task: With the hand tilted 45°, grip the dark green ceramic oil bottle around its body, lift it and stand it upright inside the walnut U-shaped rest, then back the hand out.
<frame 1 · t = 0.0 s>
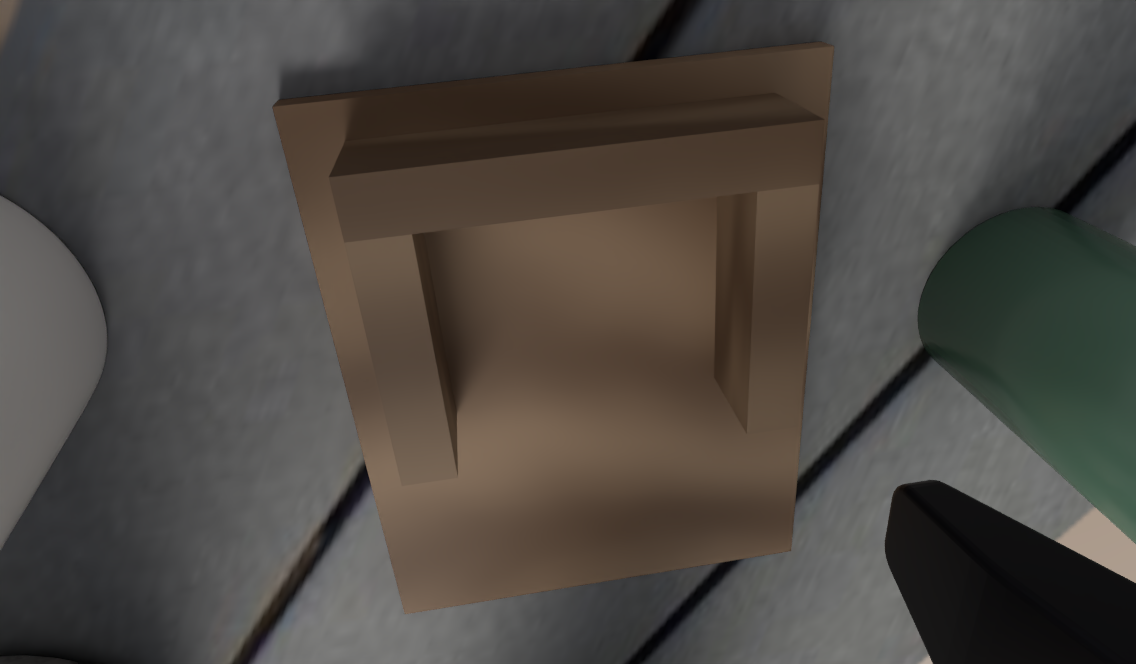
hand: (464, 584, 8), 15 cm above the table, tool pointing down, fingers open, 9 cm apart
oil bottle: (1006, 295, 25), on the table
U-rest: (576, 297, 23), on the table
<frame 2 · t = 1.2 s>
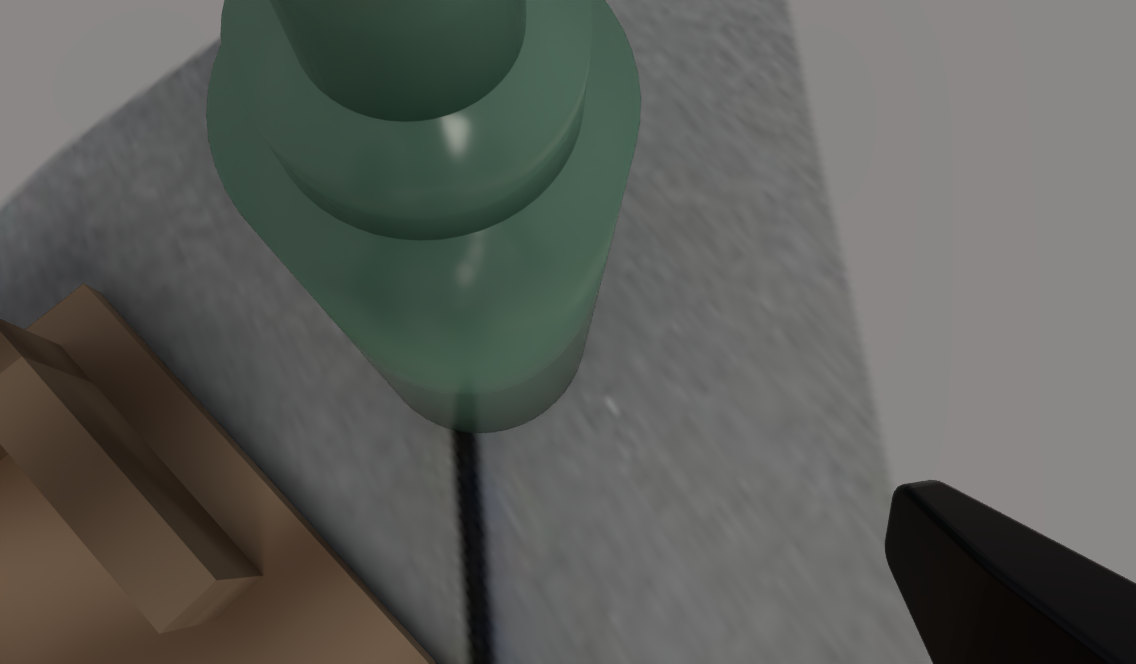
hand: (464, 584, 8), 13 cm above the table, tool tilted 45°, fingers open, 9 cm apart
oil bottle: (482, 329, 22), on the table
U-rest: (25, 650, 19), on the table
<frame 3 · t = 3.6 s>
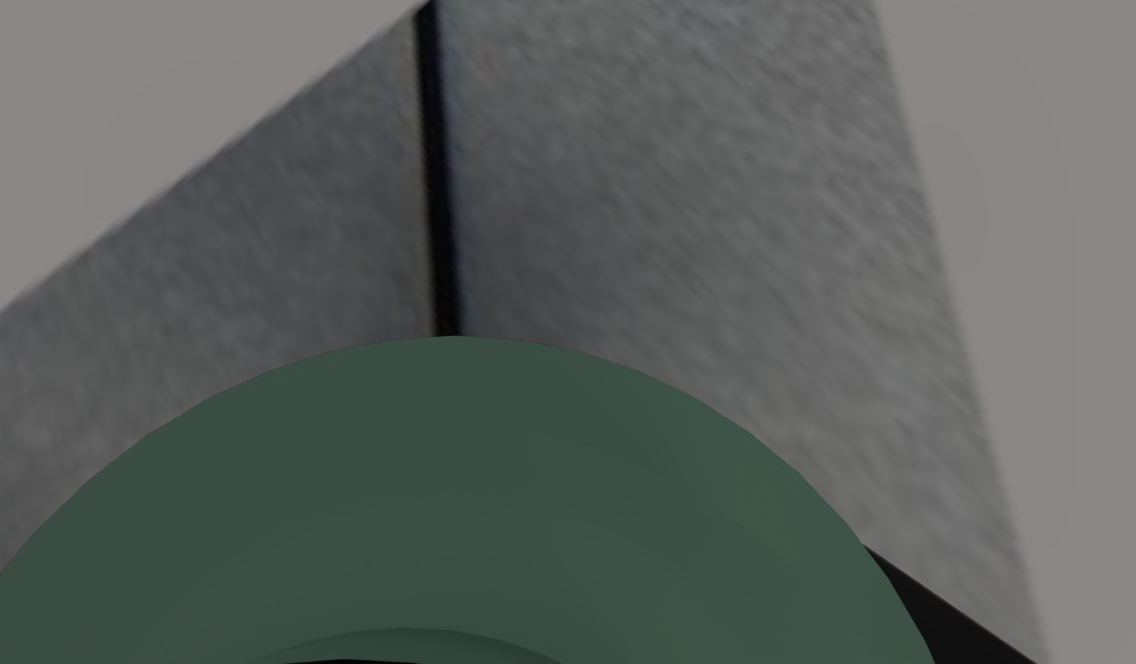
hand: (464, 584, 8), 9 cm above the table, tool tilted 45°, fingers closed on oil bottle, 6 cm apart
oil bottle: (509, 642, 16), on the table, touching gripper
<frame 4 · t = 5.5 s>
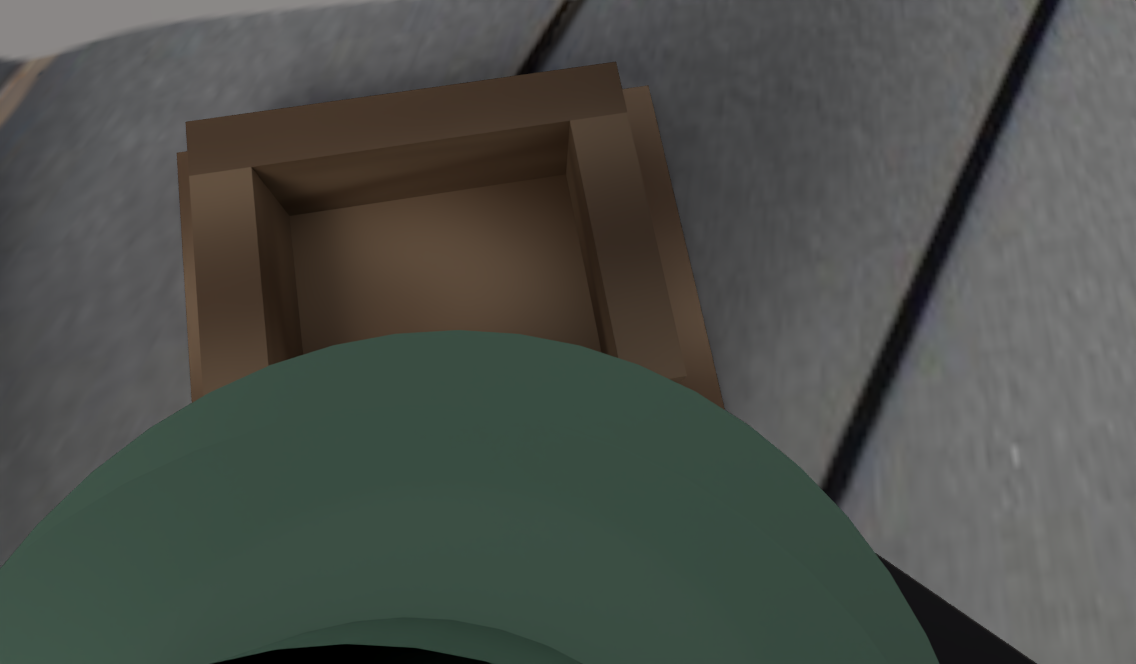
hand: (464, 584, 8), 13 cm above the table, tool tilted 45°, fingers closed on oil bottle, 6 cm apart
oil bottle: (510, 640, 16), point 5 cm above the table, touching gripper
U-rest: (452, 333, 22), on the table
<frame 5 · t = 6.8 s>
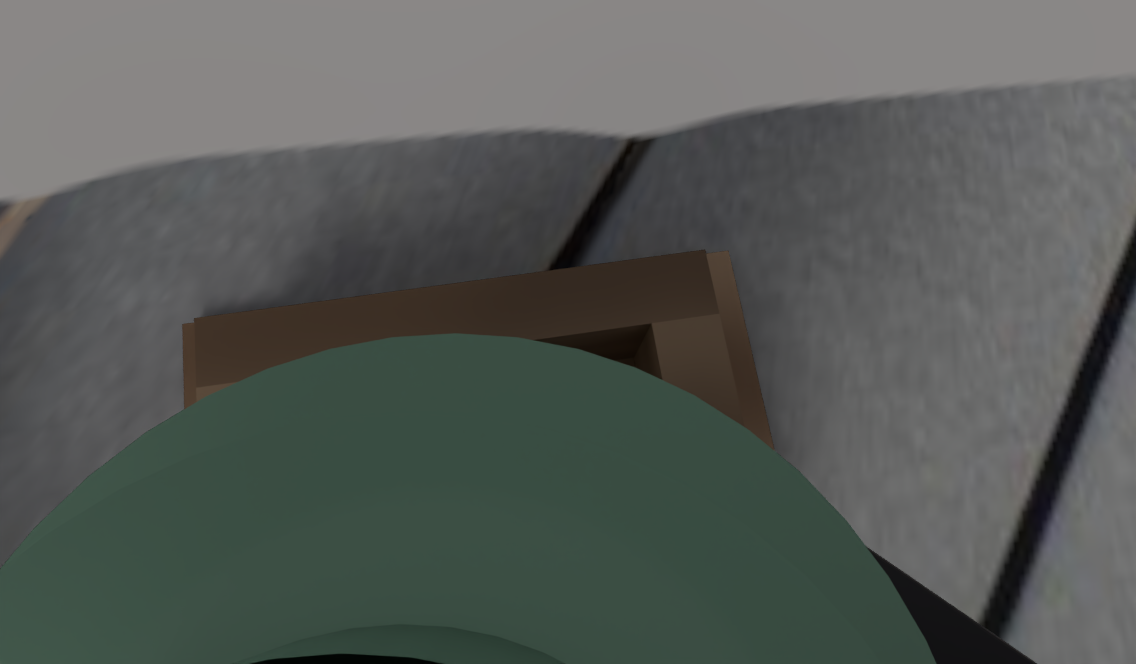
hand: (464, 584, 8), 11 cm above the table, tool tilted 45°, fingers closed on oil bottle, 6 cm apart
oil bottle: (509, 642, 16), point 3 cm above the table, touching gripper
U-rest: (498, 546, 19), on the table
when the fingers open (11 cm above the table, at t = 7.7 s): oil bottle drops 1 cm, resting on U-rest.
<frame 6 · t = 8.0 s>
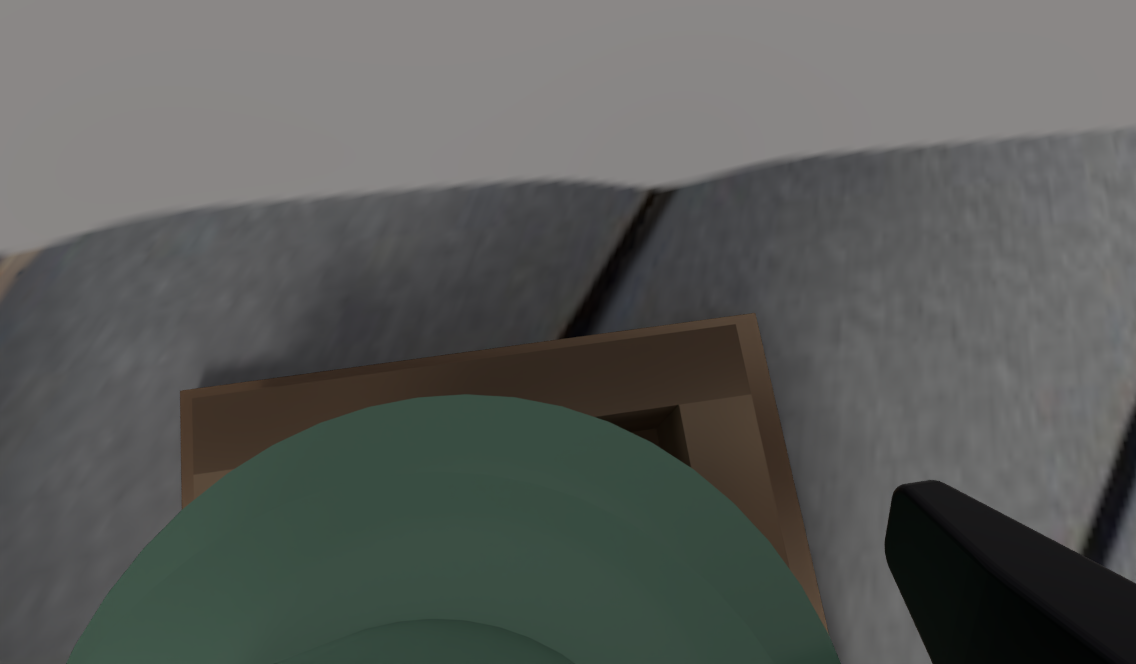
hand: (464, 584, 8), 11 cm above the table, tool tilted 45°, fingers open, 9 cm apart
oil bottle: (510, 643, 17), point 1 cm above the table, touching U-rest
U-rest: (512, 629, 18), on the table
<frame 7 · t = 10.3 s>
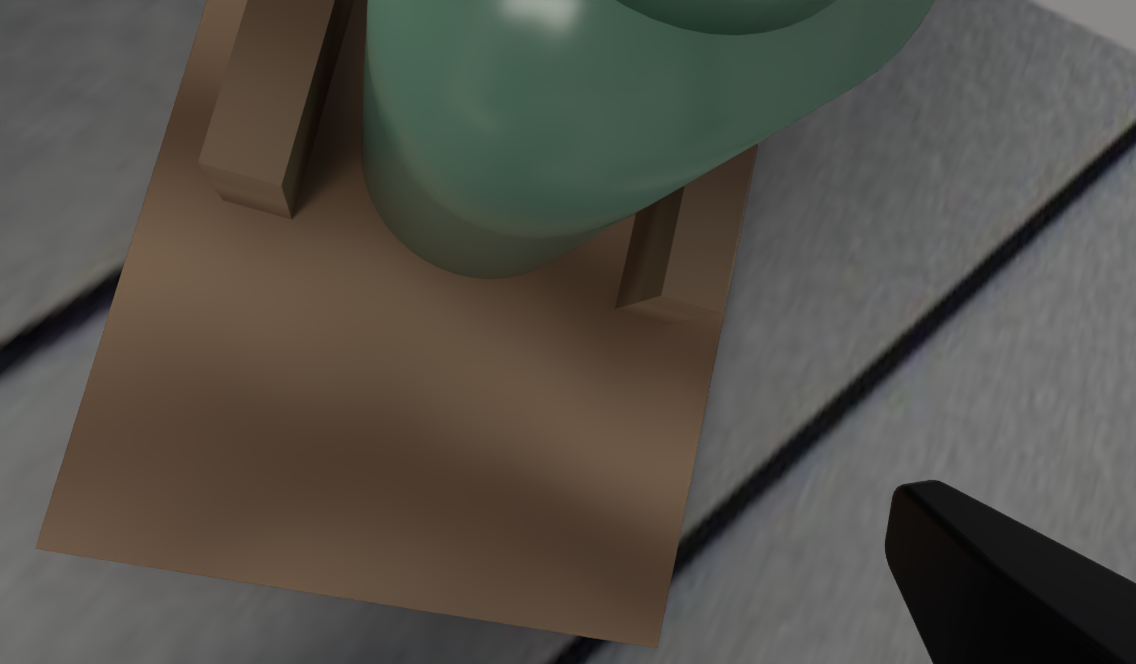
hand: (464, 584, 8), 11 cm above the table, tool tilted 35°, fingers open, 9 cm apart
oil bottle: (487, 157, 19), point 1 cm above the table, touching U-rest
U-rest: (485, 159, 20), on the table
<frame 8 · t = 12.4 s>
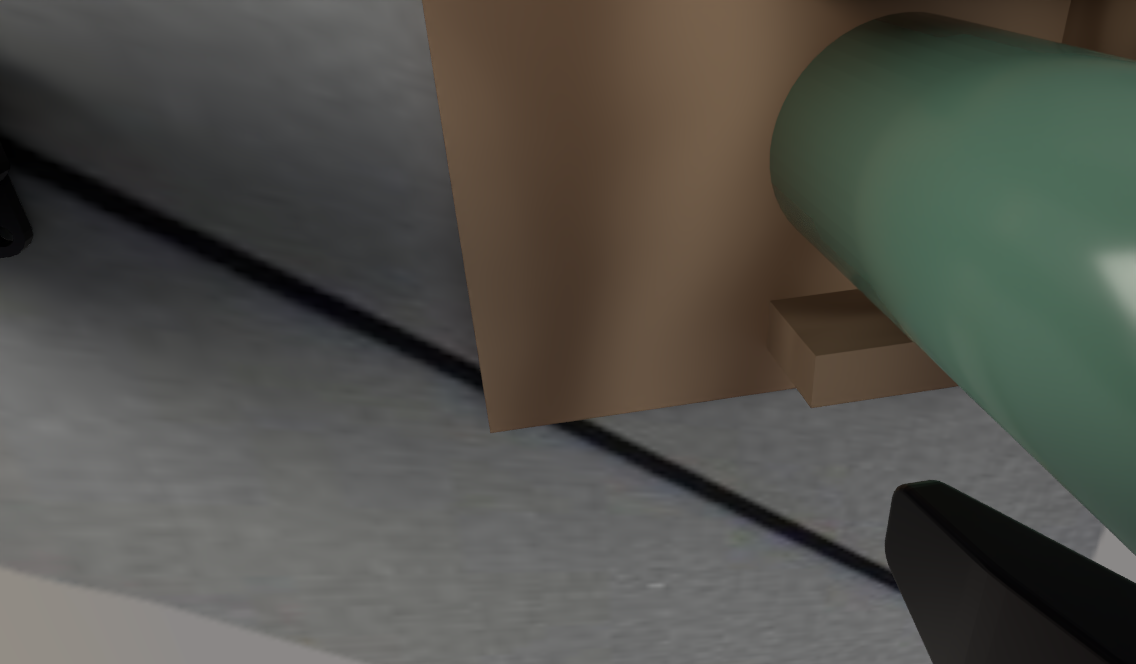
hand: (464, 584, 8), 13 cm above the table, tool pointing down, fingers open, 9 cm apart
oil bottle: (886, 141, 19), point 1 cm above the table, touching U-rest
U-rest: (877, 134, 20), on the table
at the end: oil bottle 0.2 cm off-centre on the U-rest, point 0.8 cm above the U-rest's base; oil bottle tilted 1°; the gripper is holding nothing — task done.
